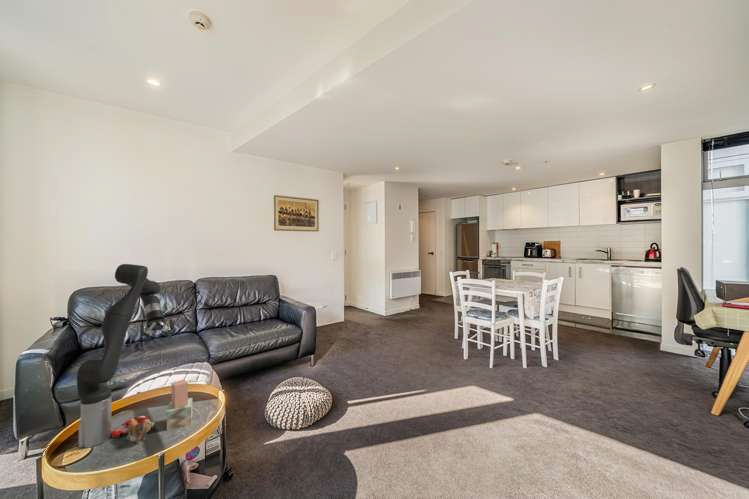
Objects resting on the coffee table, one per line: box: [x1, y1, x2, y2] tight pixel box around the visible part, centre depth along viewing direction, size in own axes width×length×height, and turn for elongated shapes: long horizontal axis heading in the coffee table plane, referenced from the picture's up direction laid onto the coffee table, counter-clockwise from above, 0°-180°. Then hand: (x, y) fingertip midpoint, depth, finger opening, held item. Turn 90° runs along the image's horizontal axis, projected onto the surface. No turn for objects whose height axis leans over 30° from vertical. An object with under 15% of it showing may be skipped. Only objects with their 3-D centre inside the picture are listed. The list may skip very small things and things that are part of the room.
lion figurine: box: [124, 418, 155, 445], centre depth 122 cm, size 15×5×9 cm, turn 73°
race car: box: [110, 415, 149, 439], centre depth 129 cm, size 13×5×4 cm, turn 156°
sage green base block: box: [166, 397, 193, 431], centre depth 135 cm, size 9×9×8 cm
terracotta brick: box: [171, 379, 189, 409], centre depth 134 cm, size 5×5×10 cm
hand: (160, 339), depth 150 cm, fingers open, 8 cm apart
